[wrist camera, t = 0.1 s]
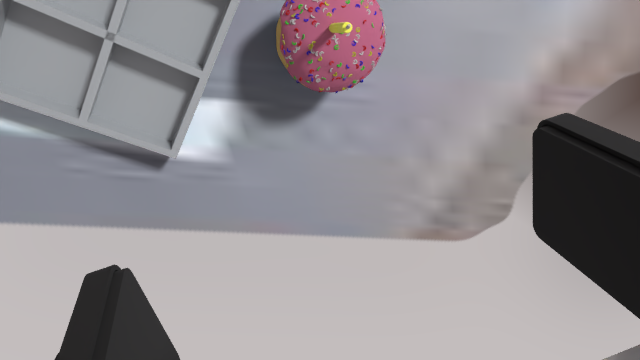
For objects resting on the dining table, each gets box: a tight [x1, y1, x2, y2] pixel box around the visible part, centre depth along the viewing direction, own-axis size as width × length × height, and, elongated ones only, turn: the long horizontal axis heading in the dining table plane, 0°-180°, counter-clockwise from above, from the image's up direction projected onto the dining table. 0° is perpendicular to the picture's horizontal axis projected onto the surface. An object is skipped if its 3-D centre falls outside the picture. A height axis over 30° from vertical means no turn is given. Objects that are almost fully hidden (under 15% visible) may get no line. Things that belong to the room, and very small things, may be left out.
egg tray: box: [0, 0, 240, 159], centre depth 32 cm, size 15×22×2 cm
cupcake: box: [276, 0, 386, 93], centre depth 33 cm, size 9×8×12 cm
